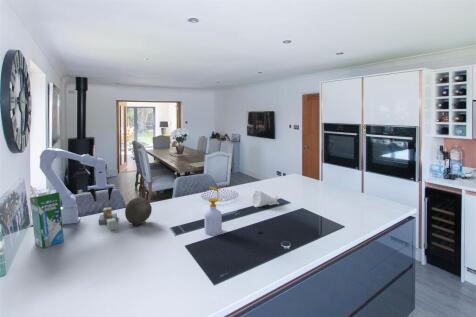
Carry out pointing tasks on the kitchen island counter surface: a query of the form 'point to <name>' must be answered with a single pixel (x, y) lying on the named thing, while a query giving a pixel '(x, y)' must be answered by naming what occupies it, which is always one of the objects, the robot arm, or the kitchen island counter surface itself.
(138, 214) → the cantaloupe
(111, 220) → the sage block
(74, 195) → the robot arm
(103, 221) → the slate base
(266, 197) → the rocket engine
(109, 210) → the oak block
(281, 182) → the kitchen island counter surface
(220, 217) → the soap bottle
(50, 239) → the milk carton
